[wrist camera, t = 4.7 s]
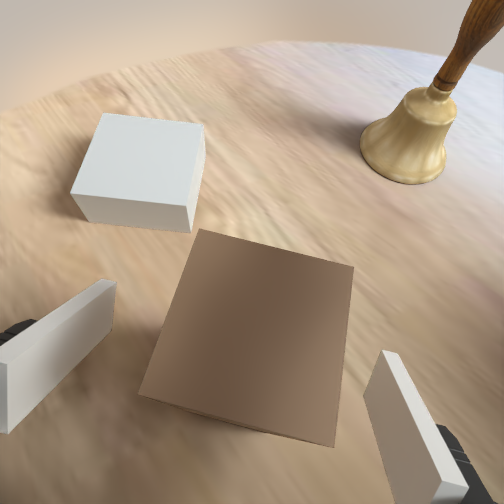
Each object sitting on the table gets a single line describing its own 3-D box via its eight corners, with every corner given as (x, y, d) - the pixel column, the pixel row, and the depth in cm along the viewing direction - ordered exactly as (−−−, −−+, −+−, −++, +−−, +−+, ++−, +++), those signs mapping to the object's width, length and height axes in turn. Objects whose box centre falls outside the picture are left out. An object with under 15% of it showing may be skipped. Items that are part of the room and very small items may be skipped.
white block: (205, 159, 30) (203, 124, 27) (191, 234, 27) (186, 205, 23) (117, 149, 30) (103, 112, 27) (90, 224, 27) (69, 193, 23)
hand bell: (341, 140, 32) (432, -80, 18) (399, 109, 35) (517, -103, 21) (404, 199, 30) (568, -5, 16) (461, 161, 32) (647, -43, 18)
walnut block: (283, 352, 23) (353, 267, 10) (267, 433, 21) (334, 447, 8) (212, 333, 23) (199, 228, 11) (189, 411, 21) (137, 394, 8)
